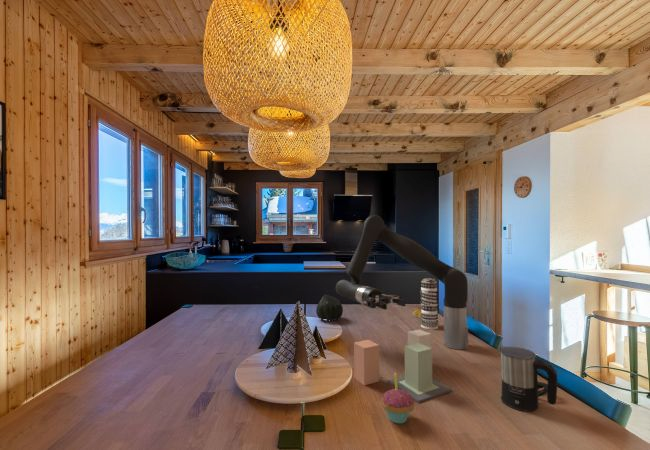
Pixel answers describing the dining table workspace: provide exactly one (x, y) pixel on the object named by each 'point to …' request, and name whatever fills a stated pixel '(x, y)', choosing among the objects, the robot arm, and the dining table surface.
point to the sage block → (418, 366)
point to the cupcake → (397, 403)
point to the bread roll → (417, 313)
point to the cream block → (419, 337)
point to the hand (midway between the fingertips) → (395, 305)
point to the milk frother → (525, 379)
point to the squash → (329, 308)
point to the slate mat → (422, 394)
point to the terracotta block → (366, 362)
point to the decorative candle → (429, 303)
